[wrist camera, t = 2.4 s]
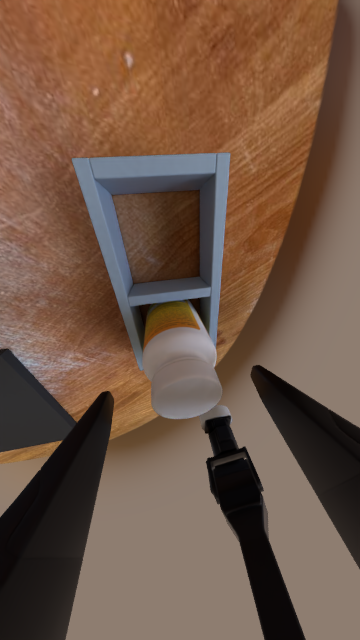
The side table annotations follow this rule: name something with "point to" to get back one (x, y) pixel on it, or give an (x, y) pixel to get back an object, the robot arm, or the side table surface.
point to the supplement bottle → (179, 361)
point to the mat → (27, 408)
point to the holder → (150, 177)
